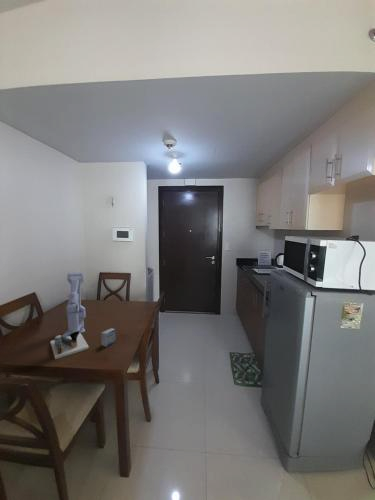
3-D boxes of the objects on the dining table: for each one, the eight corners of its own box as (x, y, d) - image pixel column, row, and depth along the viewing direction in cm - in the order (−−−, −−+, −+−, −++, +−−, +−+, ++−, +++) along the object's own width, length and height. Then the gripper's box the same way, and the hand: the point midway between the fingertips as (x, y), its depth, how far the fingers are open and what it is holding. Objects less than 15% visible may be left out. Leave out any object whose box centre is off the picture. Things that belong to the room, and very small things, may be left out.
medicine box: (106, 347, 136) (105, 334, 135) (101, 345, 138) (100, 332, 137) (115, 341, 143) (115, 329, 142) (111, 339, 145) (110, 327, 144)
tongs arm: (54, 342, 137) (54, 337, 137) (60, 339, 141) (60, 334, 141) (70, 349, 130) (70, 343, 129) (77, 346, 134) (77, 340, 133)
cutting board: (50, 343, 140) (50, 340, 140) (80, 335, 151) (80, 332, 151) (55, 359, 123) (55, 356, 123) (88, 348, 134) (88, 346, 134)
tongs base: (53, 342, 138) (53, 337, 138) (62, 340, 141) (61, 335, 141) (57, 354, 125) (57, 349, 125) (66, 351, 128) (66, 346, 128)
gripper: (69, 328, 127) (70, 350, 128) (87, 318, 140) (87, 338, 142) (59, 326, 128) (60, 348, 130) (78, 317, 142) (79, 336, 144)
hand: (74, 343), depth 136 cm, fingers closed, pressing on tongs arm
